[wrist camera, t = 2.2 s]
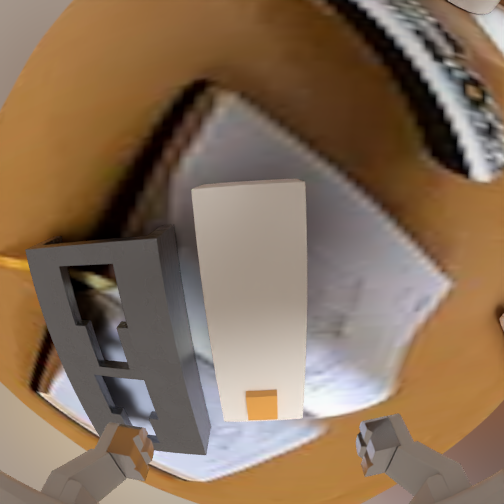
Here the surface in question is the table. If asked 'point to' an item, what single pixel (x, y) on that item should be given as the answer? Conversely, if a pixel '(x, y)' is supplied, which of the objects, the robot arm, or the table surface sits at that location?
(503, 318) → the cable organizer
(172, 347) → the keyhole plate
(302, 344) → the power strip
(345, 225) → the table surface
